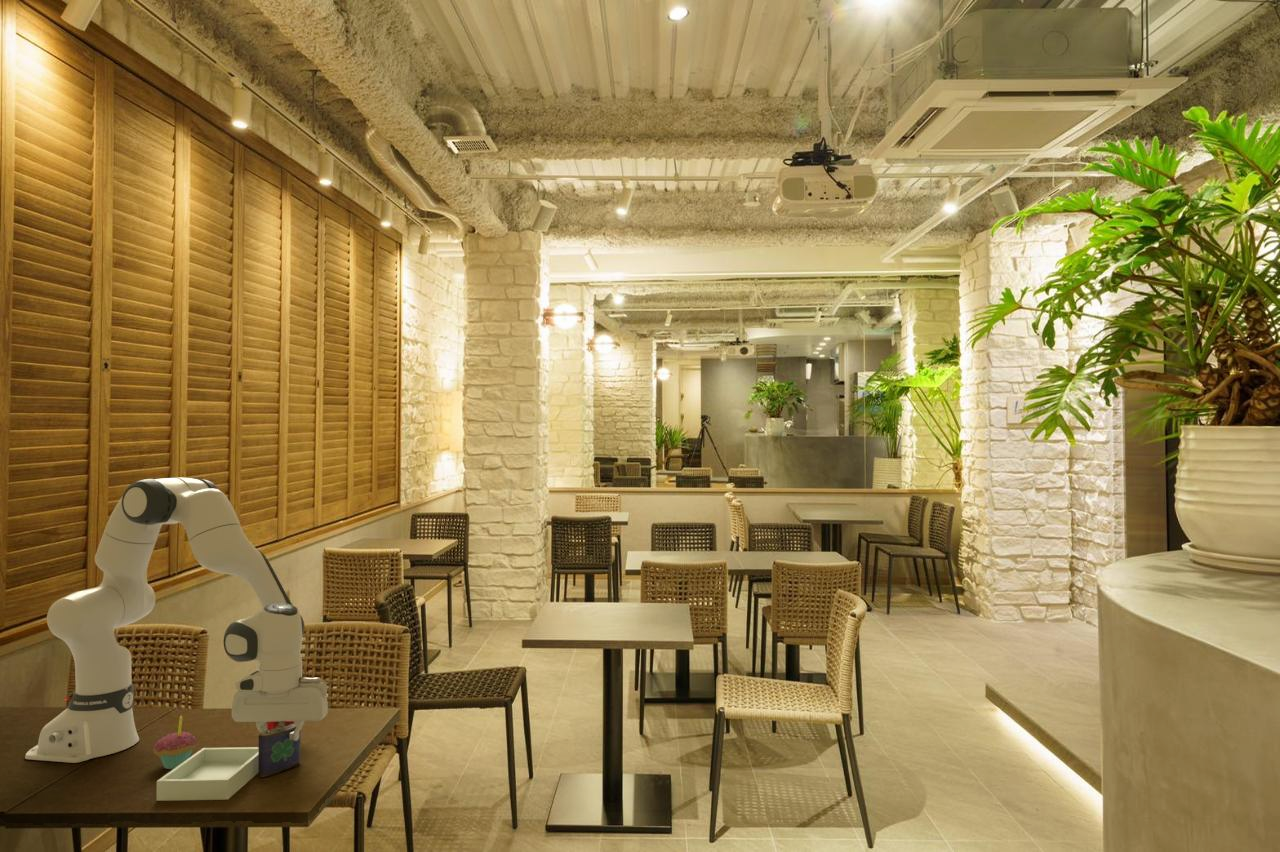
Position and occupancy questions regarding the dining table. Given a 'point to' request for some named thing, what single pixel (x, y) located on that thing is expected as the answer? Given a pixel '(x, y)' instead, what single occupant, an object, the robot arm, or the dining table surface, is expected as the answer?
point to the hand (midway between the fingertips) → (280, 740)
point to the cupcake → (175, 747)
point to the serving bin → (210, 774)
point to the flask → (278, 750)
